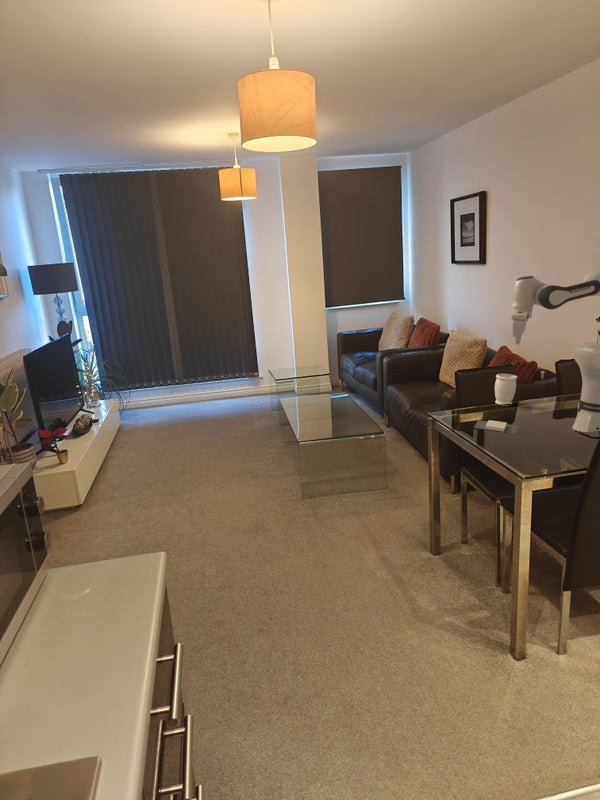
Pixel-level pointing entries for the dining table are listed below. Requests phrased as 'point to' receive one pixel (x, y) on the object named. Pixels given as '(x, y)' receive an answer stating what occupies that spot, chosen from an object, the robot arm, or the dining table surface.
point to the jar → (505, 388)
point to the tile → (496, 425)
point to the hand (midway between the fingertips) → (517, 343)
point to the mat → (508, 429)
